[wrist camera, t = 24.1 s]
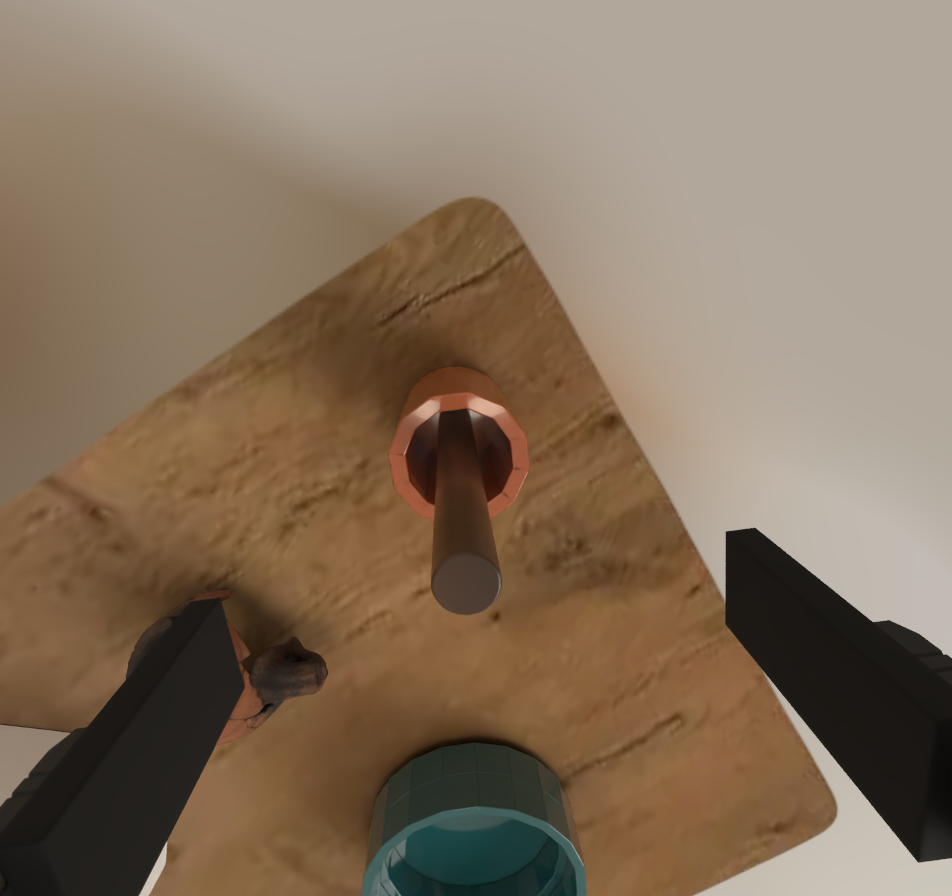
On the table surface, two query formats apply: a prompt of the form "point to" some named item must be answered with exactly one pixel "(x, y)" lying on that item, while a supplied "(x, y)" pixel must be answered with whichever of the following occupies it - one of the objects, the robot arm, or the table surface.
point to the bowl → (473, 828)
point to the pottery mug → (251, 672)
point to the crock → (492, 430)
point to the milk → (19, 750)
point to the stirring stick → (462, 523)
